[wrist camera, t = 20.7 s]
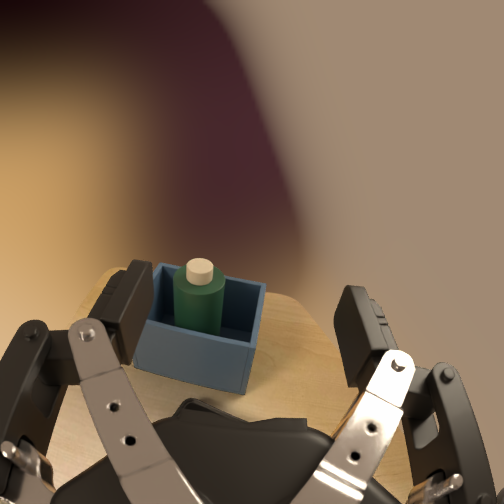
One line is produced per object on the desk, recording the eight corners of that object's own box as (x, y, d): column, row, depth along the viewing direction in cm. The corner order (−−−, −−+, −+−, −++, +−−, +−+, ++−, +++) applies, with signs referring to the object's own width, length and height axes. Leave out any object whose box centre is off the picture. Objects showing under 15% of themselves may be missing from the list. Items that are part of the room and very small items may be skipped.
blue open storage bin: (256, 332, 40) (266, 283, 36) (244, 395, 31) (255, 348, 27) (162, 312, 41) (160, 262, 36) (134, 367, 32) (123, 316, 28)
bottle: (222, 338, 38) (231, 256, 31) (212, 370, 33) (219, 286, 27) (183, 329, 38) (183, 247, 32) (170, 359, 34) (165, 274, 27)
